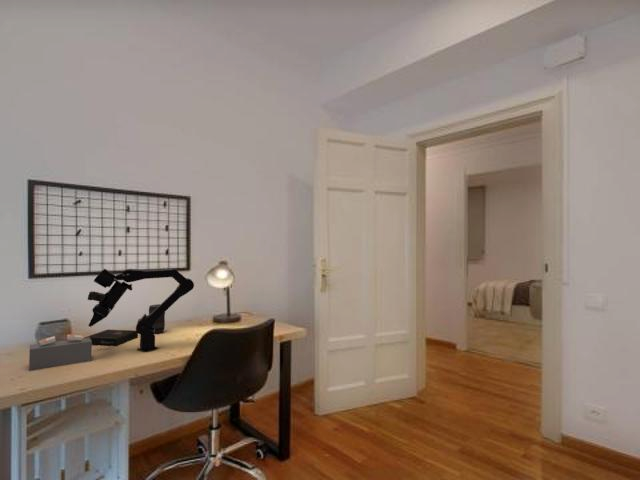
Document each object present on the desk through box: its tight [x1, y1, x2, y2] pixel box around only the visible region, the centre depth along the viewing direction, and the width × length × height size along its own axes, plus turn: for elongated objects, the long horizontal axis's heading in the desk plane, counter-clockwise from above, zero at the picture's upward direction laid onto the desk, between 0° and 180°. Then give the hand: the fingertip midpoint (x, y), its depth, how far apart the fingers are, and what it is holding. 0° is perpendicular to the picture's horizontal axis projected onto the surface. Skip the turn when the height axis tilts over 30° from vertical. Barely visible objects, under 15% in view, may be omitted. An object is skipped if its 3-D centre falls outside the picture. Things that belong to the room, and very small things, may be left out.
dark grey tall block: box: [148, 303, 166, 335], centre depth 196 cm, size 8×8×15 cm
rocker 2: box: [66, 334, 84, 340], centre depth 148 cm, size 5×4×1 cm
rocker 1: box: [38, 335, 57, 346], centre depth 143 cm, size 5×4×1 cm
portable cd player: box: [83, 329, 139, 347], centre depth 179 cm, size 16×17×4 cm
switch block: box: [28, 337, 93, 372], centre depth 145 cm, size 20×8×8 cm, turn 128°
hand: (91, 324), depth 157 cm, fingers open, 9 cm apart
